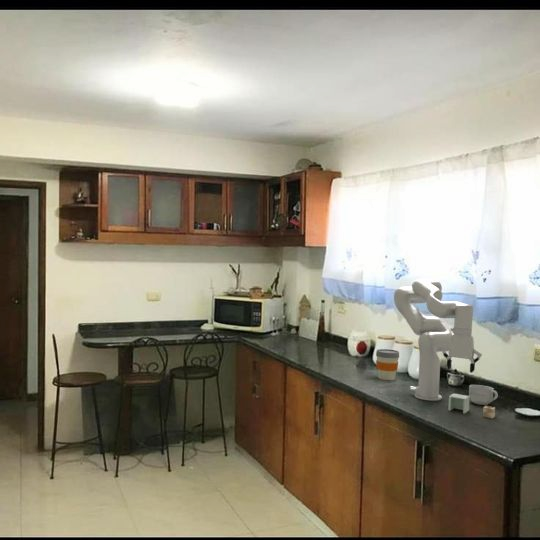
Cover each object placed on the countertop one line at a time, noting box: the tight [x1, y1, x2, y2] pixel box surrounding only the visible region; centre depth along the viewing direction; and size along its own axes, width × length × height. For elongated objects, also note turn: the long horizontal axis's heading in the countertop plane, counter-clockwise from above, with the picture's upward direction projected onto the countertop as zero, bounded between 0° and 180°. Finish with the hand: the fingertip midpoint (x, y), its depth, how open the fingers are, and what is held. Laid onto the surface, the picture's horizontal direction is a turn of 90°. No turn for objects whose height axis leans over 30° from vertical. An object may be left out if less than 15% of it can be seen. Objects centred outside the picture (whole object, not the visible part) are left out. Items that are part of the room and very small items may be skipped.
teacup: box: [468, 384, 499, 406], centre depth 267 cm, size 14×11×8 cm
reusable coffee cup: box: [375, 348, 400, 381], centre depth 315 cm, size 13×13×15 cm
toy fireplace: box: [448, 393, 470, 414], centre depth 254 cm, size 7×6×6 cm
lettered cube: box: [482, 405, 496, 419], centre depth 246 cm, size 4×4×4 cm
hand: (460, 370), depth 254 cm, fingers open, 9 cm apart
